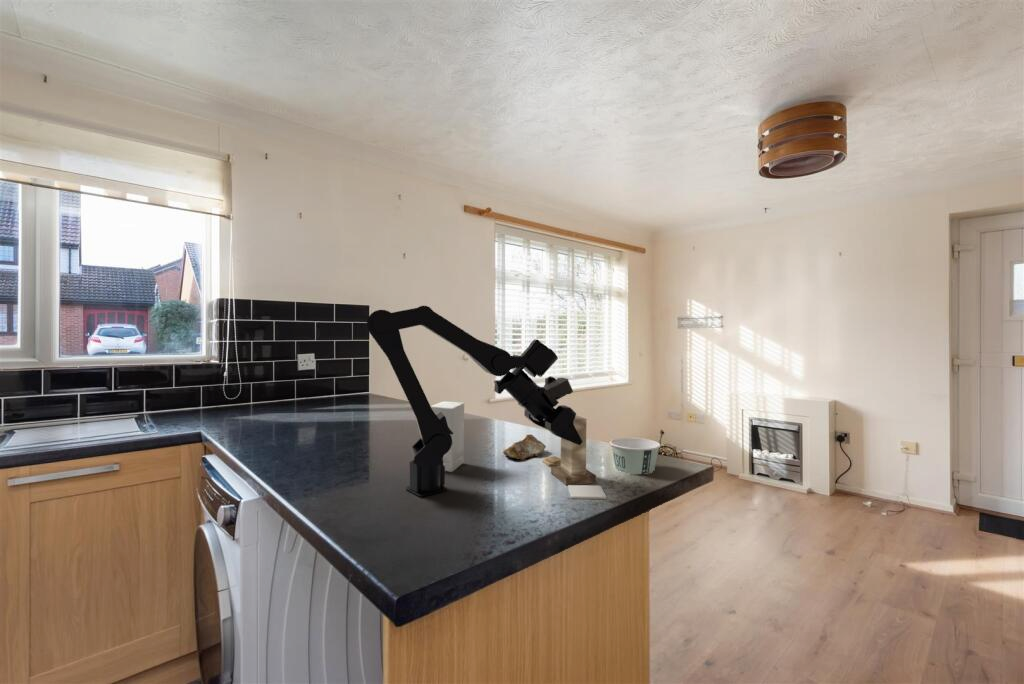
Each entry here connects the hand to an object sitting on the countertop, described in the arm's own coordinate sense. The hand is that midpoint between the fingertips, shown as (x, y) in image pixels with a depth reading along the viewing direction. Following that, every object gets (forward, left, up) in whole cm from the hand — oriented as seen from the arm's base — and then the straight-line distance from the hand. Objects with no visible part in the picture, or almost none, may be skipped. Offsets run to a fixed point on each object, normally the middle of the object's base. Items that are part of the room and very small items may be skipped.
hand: (572, 438), depth 106 cm
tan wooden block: (0, 0, -9) cm, 9 cm away
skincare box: (-17, +26, -9) cm, 32 cm away
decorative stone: (+6, +22, -9) cm, 25 cm away
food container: (+17, -5, -9) cm, 20 cm away
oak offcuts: (+6, +11, -9) cm, 15 cm away
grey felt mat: (-5, -9, -9) cm, 13 cm away
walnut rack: (0, 0, -9) cm, 9 cm away
